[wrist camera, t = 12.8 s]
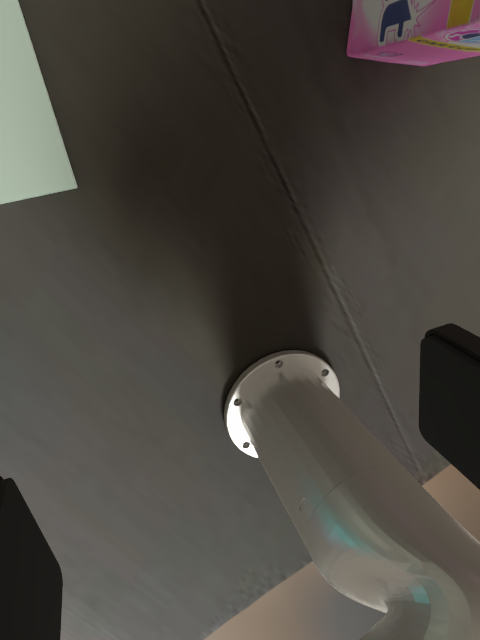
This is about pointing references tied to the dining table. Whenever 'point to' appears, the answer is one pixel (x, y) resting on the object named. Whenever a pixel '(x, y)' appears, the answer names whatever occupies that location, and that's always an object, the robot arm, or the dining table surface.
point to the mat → (27, 118)
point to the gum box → (414, 31)
